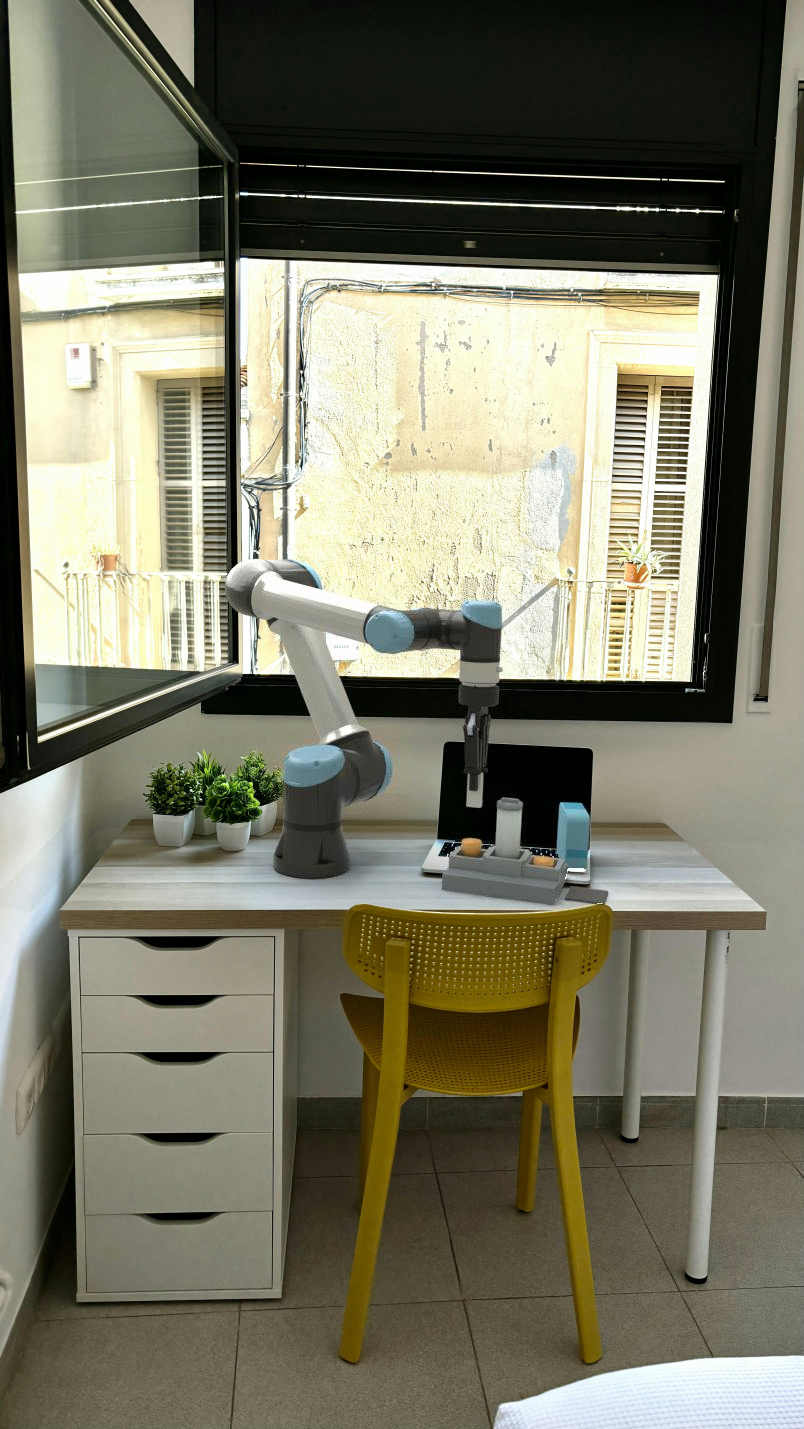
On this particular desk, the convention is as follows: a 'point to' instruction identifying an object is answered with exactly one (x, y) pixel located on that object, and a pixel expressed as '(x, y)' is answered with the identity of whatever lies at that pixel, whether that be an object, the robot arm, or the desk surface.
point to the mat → (586, 895)
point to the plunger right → (543, 861)
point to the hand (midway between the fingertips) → (474, 806)
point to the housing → (504, 876)
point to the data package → (573, 834)
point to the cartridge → (508, 828)
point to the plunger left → (471, 847)
